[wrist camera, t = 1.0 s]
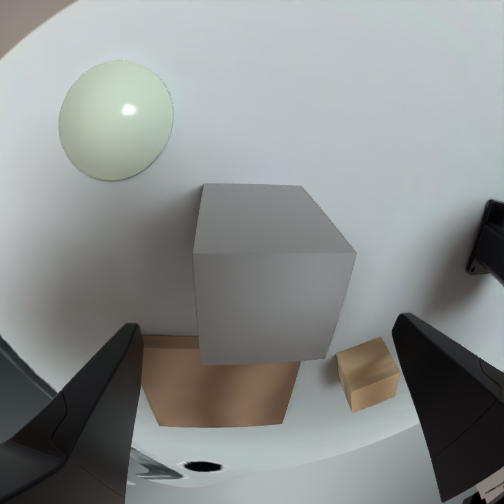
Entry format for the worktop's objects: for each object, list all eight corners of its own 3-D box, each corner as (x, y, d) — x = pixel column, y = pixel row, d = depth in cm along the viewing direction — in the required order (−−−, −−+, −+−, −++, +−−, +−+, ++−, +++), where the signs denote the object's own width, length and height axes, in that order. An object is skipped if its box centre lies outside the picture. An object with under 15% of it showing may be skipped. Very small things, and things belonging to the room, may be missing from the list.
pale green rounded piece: (176, 56, 11) (173, 53, 10) (175, 172, 14) (172, 177, 13) (67, 73, 11) (58, 72, 10) (72, 179, 13) (64, 184, 13)
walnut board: (301, 333, 20) (305, 345, 19) (280, 413, 26) (282, 423, 25) (131, 334, 19) (128, 346, 18) (159, 415, 25) (159, 425, 24)
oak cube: (380, 336, 22) (399, 372, 18) (379, 362, 24) (395, 395, 20) (335, 352, 22) (350, 391, 19) (339, 377, 24) (352, 413, 21)
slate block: (301, 186, 15) (356, 252, 9) (290, 267, 17) (324, 358, 11) (204, 183, 14) (192, 253, 8) (205, 268, 17) (201, 365, 11)
